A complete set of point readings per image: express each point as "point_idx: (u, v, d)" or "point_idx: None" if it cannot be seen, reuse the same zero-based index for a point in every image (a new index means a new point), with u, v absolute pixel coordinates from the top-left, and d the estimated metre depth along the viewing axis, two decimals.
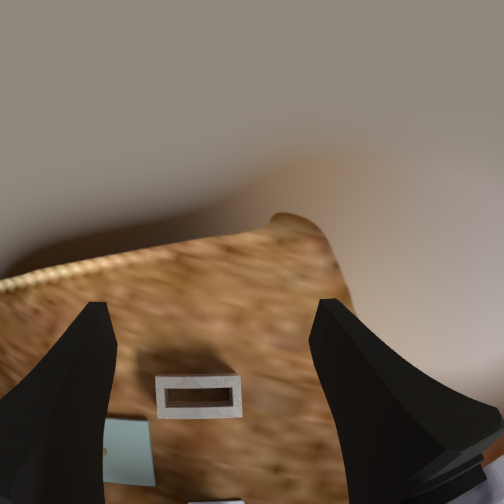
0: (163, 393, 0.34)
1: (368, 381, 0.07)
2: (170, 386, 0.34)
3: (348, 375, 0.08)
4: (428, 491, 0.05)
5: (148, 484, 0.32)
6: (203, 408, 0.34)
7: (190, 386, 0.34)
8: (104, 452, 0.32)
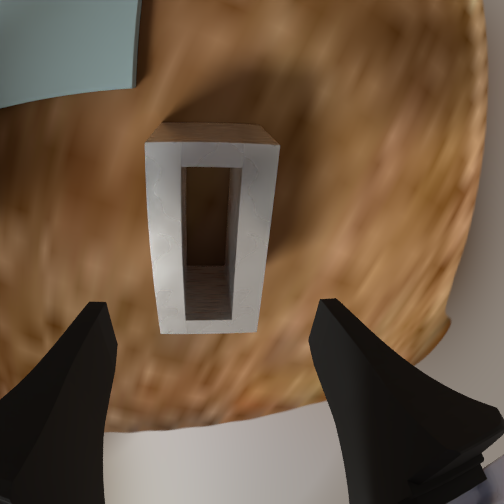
0: (225, 164, 0.12)
1: (368, 381, 0.07)
2: (246, 186, 0.13)
3: (348, 374, 0.08)
4: (428, 491, 0.05)
5: None
6: (179, 263, 0.14)
7: (242, 237, 0.14)
8: None
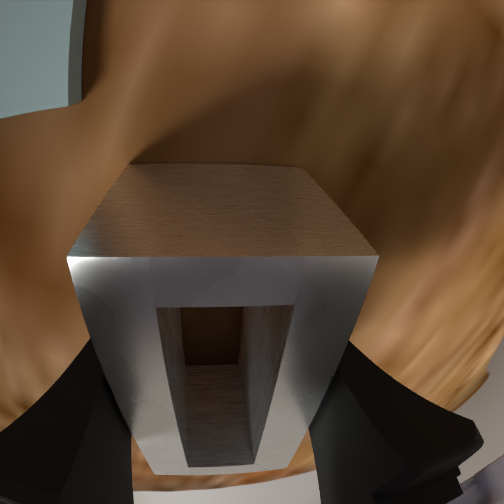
0: (258, 299, 0.05)
1: (336, 387, 0.07)
2: (299, 333, 0.06)
3: None
4: None
5: None
6: (173, 427, 0.07)
7: (281, 398, 0.07)
8: None
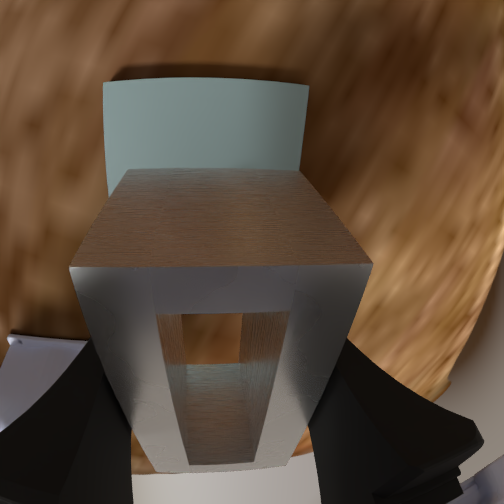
0: (255, 306, 0.06)
1: (336, 387, 0.07)
2: (295, 338, 0.06)
3: None
4: None
5: None
6: (174, 426, 0.08)
7: (279, 399, 0.07)
8: None
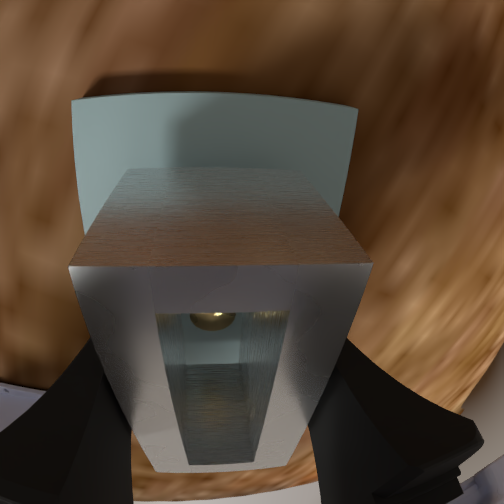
0: (254, 306, 0.06)
1: (336, 387, 0.07)
2: (295, 337, 0.06)
3: None
4: None
5: None
6: (174, 426, 0.08)
7: (278, 399, 0.07)
8: None
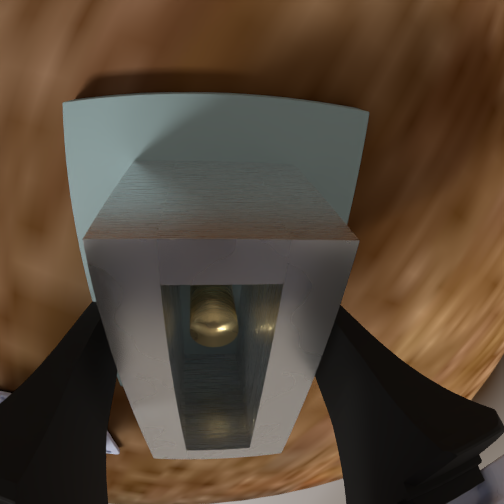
0: (251, 278, 0.06)
1: (365, 382, 0.07)
2: (288, 311, 0.07)
3: (345, 375, 0.08)
4: (425, 493, 0.05)
5: None
6: (173, 405, 0.08)
7: (273, 377, 0.08)
8: None
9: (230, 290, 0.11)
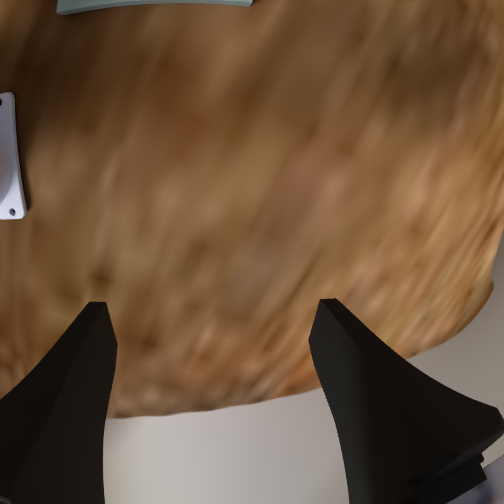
0: None
1: (368, 381, 0.07)
2: None
3: (348, 374, 0.08)
4: (428, 491, 0.05)
5: None
6: None
7: None
8: None
9: None
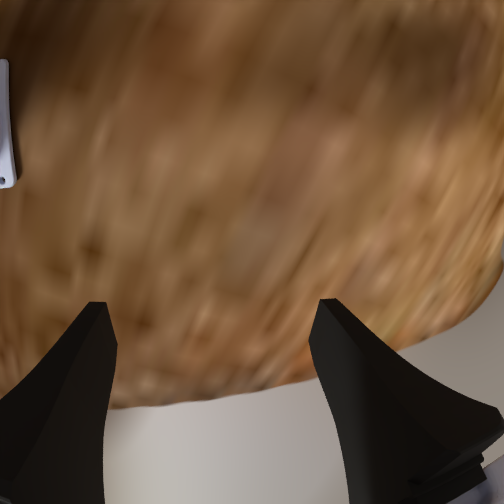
0: None
1: (368, 381, 0.07)
2: None
3: (348, 375, 0.08)
4: (428, 491, 0.05)
5: None
6: None
7: None
8: None
9: None
